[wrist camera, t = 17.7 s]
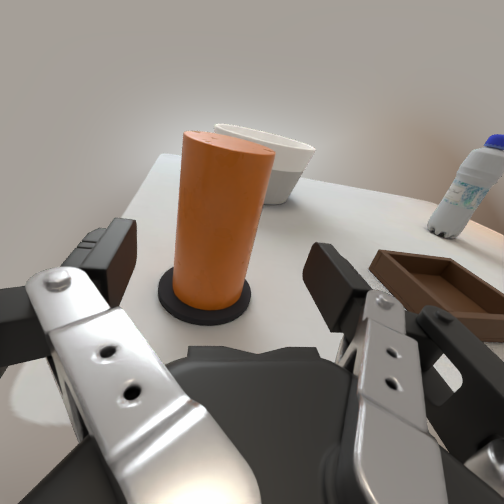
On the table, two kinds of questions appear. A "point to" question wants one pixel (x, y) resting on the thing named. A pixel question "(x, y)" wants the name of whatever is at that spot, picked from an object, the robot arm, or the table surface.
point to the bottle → (469, 188)
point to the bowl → (276, 159)
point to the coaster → (198, 315)
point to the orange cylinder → (217, 216)
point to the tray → (442, 290)
